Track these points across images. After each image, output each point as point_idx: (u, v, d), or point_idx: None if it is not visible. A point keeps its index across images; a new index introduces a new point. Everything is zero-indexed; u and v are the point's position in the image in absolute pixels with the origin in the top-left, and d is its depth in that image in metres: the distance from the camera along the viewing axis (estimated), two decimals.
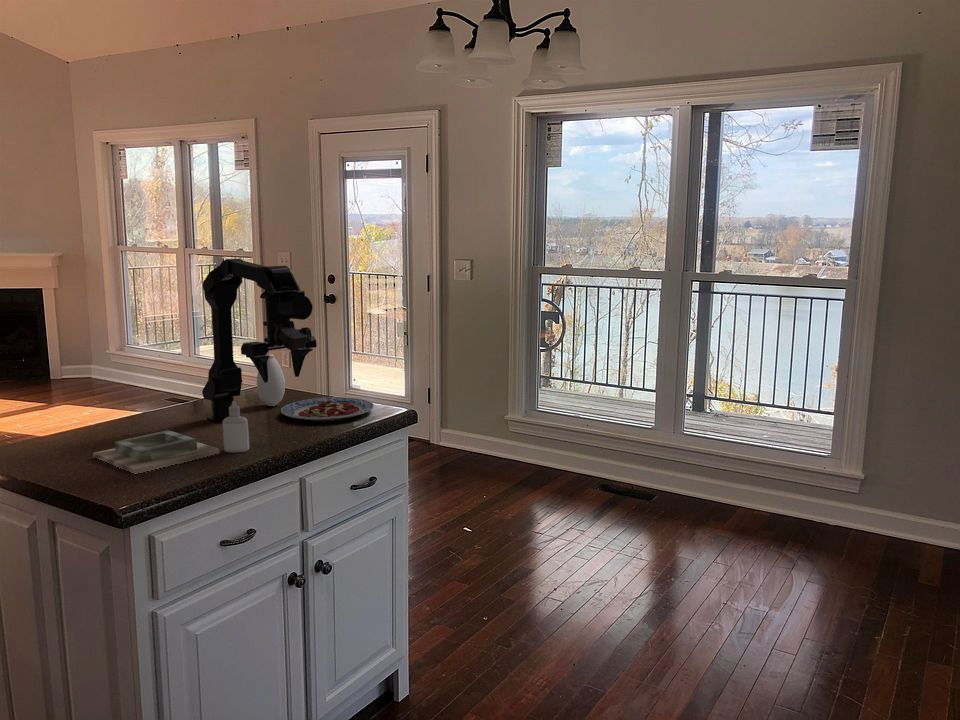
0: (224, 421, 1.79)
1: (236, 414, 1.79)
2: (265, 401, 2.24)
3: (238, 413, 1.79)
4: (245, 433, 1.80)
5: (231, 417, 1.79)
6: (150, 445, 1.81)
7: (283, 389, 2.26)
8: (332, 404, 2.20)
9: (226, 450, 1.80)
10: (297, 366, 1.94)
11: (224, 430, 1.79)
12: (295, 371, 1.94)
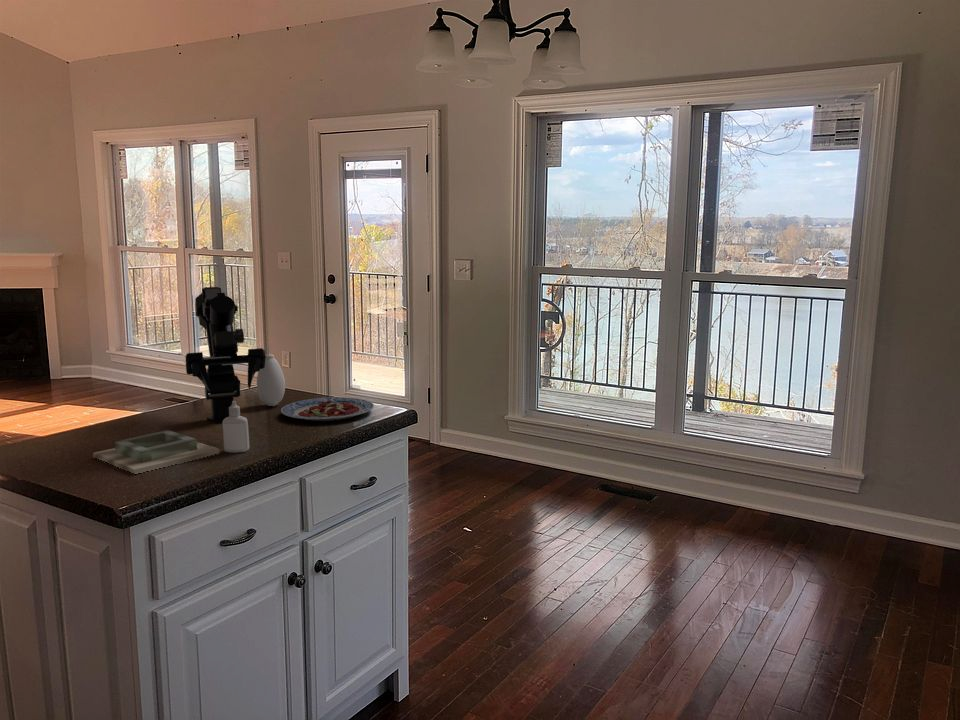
0: (224, 421, 1.79)
1: (236, 414, 1.79)
2: (265, 401, 2.24)
3: (238, 413, 1.79)
4: (245, 433, 1.80)
5: (231, 417, 1.79)
6: (150, 445, 1.81)
7: (283, 389, 2.26)
8: (332, 404, 2.20)
9: (226, 450, 1.80)
10: (248, 377, 1.89)
11: (224, 430, 1.79)
12: None
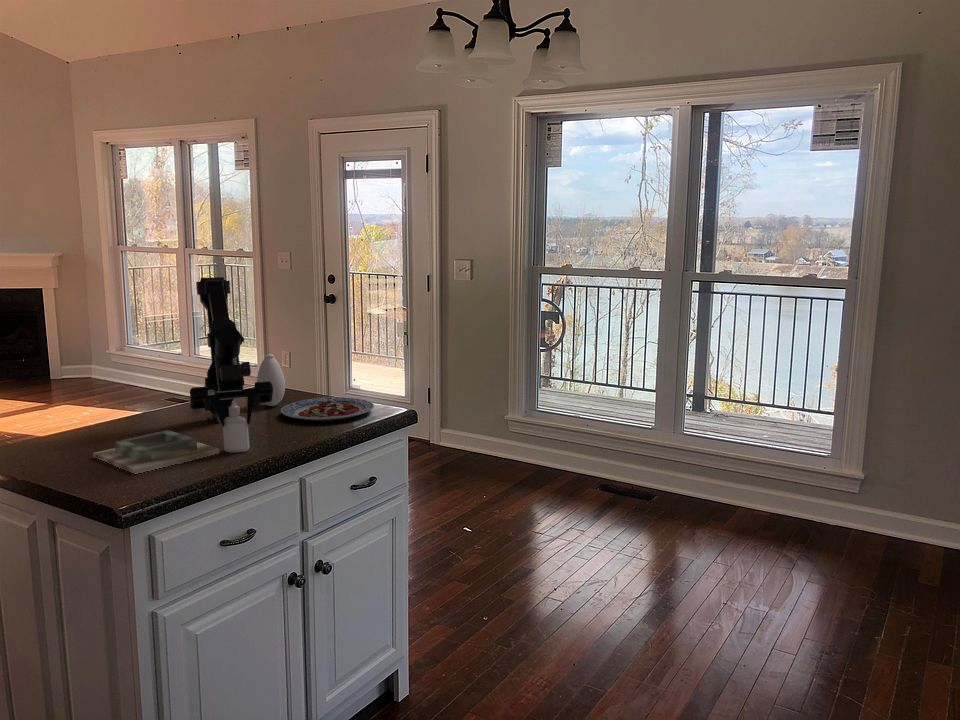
0: (224, 421, 1.79)
1: (236, 414, 1.79)
2: None
3: (238, 413, 1.79)
4: (245, 433, 1.80)
5: (231, 417, 1.79)
6: (150, 445, 1.81)
7: (283, 389, 2.26)
8: (332, 404, 2.20)
9: (226, 450, 1.80)
10: (247, 412, 1.81)
11: (224, 430, 1.79)
12: (247, 419, 1.81)
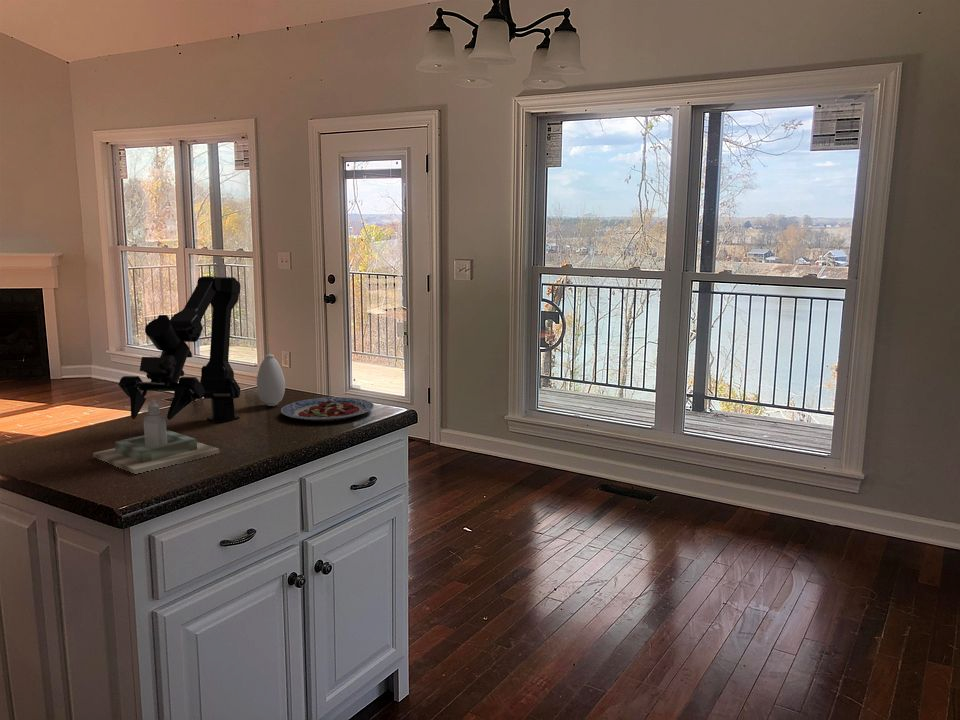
0: (144, 418, 1.77)
1: (152, 413, 1.75)
2: (265, 401, 2.24)
3: (155, 412, 1.75)
4: (158, 434, 1.75)
5: (148, 415, 1.76)
6: None
7: (283, 389, 2.26)
8: (332, 404, 2.20)
9: None
10: None
11: (144, 427, 1.77)
12: None
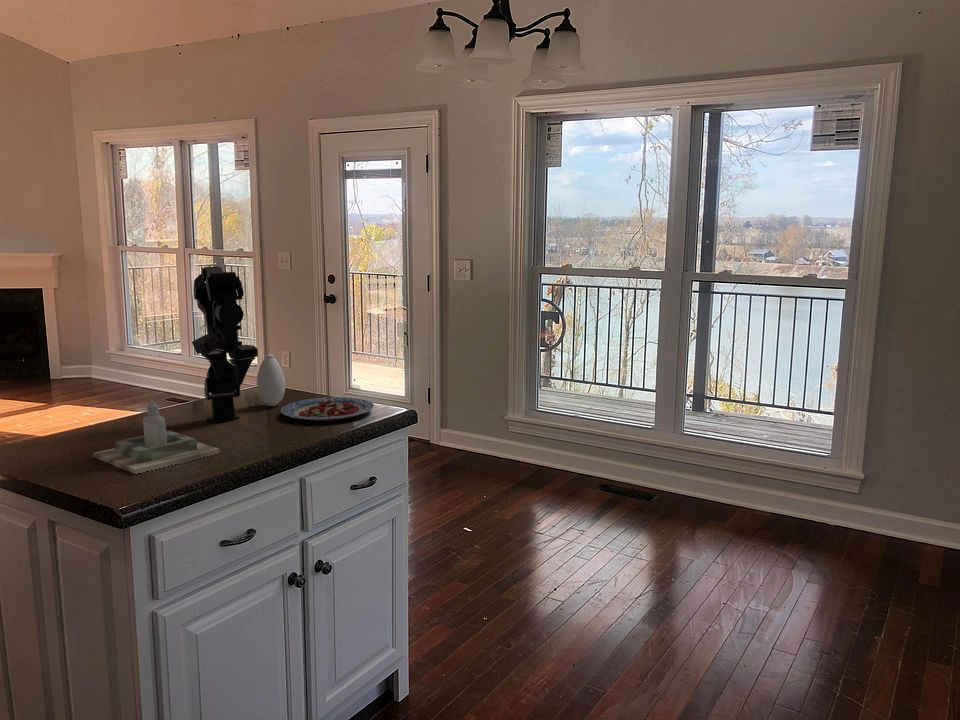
0: (143, 419, 1.77)
1: (151, 413, 1.75)
2: (265, 401, 2.24)
3: (154, 413, 1.75)
4: (158, 434, 1.75)
5: (148, 416, 1.76)
6: None
7: (283, 389, 2.26)
8: (332, 404, 2.20)
9: None
10: None
11: (143, 427, 1.77)
12: None
